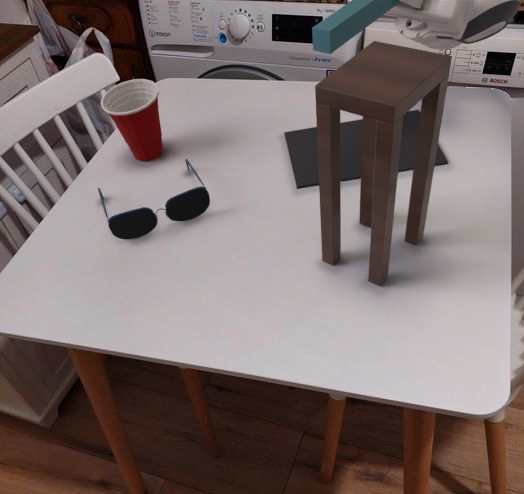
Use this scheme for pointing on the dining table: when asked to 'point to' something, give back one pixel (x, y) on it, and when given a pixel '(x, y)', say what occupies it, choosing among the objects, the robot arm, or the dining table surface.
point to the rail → (348, 23)
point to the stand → (380, 142)
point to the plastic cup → (136, 116)
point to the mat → (349, 150)
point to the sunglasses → (146, 220)
